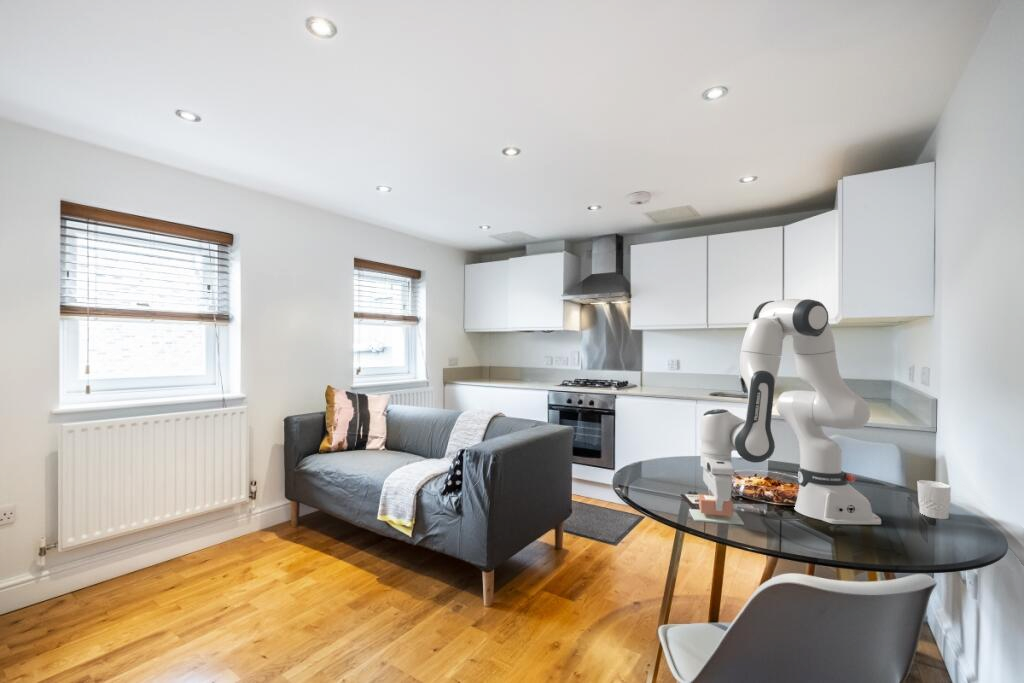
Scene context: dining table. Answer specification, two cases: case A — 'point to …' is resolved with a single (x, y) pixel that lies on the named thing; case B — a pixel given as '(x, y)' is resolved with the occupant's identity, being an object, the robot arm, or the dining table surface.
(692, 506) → the chocolate bar
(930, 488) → the white cup
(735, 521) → the mat
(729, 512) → the deck
